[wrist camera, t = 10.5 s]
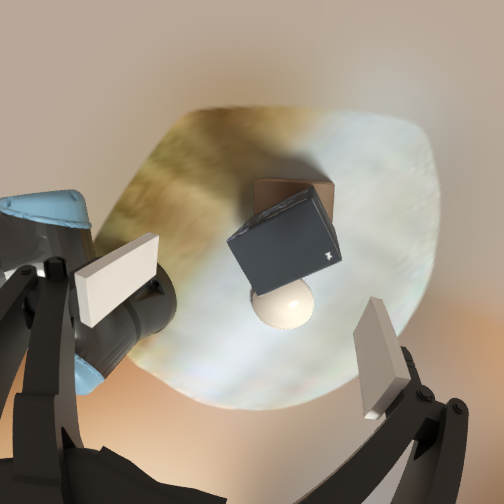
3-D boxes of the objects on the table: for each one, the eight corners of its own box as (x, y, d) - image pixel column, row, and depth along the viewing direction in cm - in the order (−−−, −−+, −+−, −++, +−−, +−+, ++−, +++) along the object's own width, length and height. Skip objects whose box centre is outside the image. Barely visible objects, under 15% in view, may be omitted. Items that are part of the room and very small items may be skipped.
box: (312, 183, 29) (313, 196, 19) (335, 228, 30) (345, 263, 20) (251, 214, 32) (223, 241, 22) (274, 256, 33) (257, 299, 23)
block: (261, 243, 38) (253, 256, 33) (262, 177, 35) (253, 180, 30) (327, 248, 36) (328, 262, 31) (332, 181, 33) (334, 184, 28)
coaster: (247, 317, 42) (246, 319, 41) (260, 266, 39) (259, 267, 38) (303, 333, 41) (302, 335, 40) (322, 284, 37) (322, 286, 37)
